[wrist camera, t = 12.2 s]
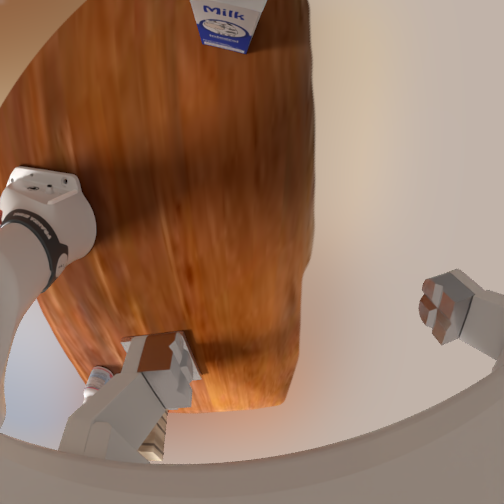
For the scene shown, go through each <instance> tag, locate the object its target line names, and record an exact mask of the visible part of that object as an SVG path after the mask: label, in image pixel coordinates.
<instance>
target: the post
mask: <svg viewBox="0 0 504 504" xmlns="http://www.w3.org/2000/svg"><path fill="white" fill-rule="evenodd" d="M165 410H166V411H165V412H164V414H163V415H162V416H161V418H160V419H159V421H158V422H157V424H156V425H155V426H154V428H153V429H152V431H151V432H150V433H149V435H148V436H147V437H146V439H145V440H144V442H143V443H142V444H141V446H140V447H139V449H138V450H137V451H138V452H139V453H140V454H141V455H143V456H144V457H145V458H146V459H147V460H148V461H163V455H164V453H163V451H164V441H165V434H166V432H165V431H166V424H167V415H168V409H165Z"/></svg>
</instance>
